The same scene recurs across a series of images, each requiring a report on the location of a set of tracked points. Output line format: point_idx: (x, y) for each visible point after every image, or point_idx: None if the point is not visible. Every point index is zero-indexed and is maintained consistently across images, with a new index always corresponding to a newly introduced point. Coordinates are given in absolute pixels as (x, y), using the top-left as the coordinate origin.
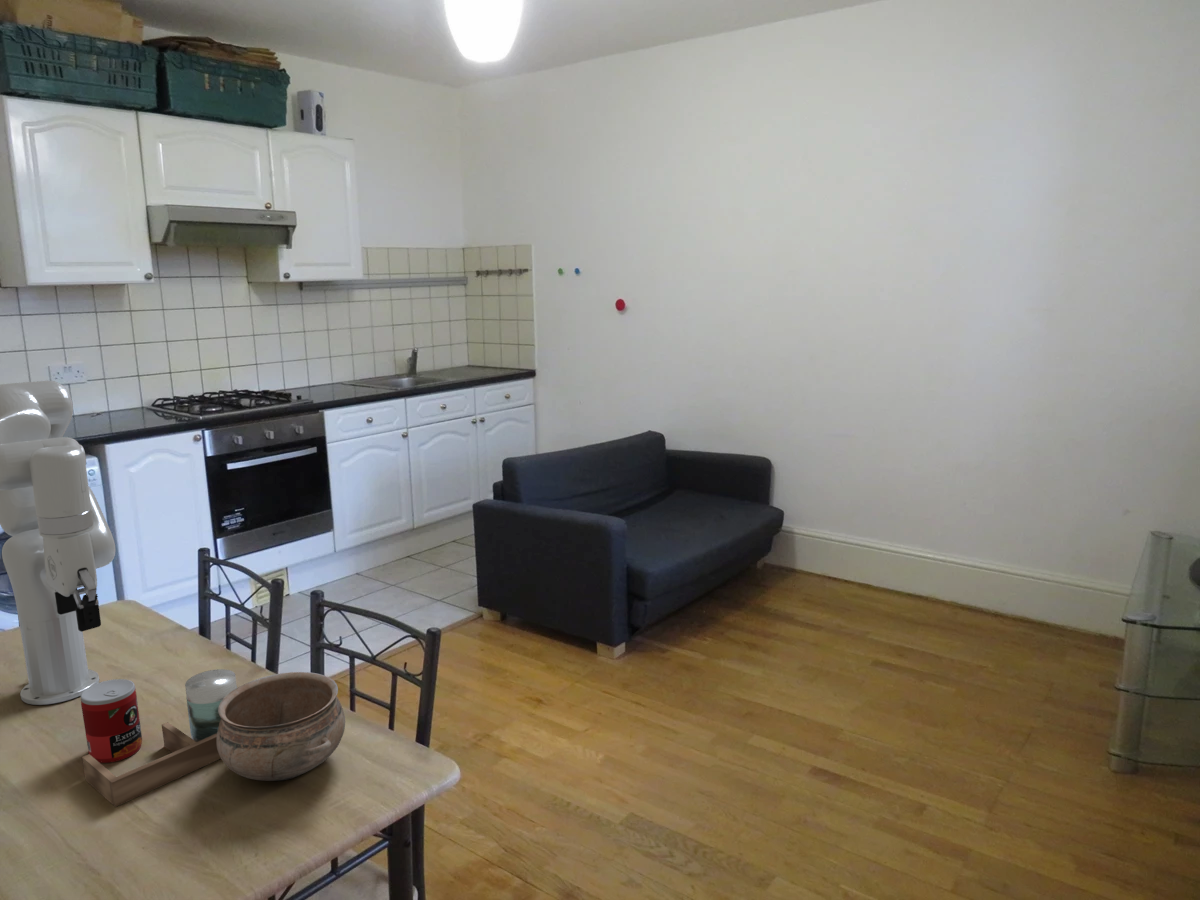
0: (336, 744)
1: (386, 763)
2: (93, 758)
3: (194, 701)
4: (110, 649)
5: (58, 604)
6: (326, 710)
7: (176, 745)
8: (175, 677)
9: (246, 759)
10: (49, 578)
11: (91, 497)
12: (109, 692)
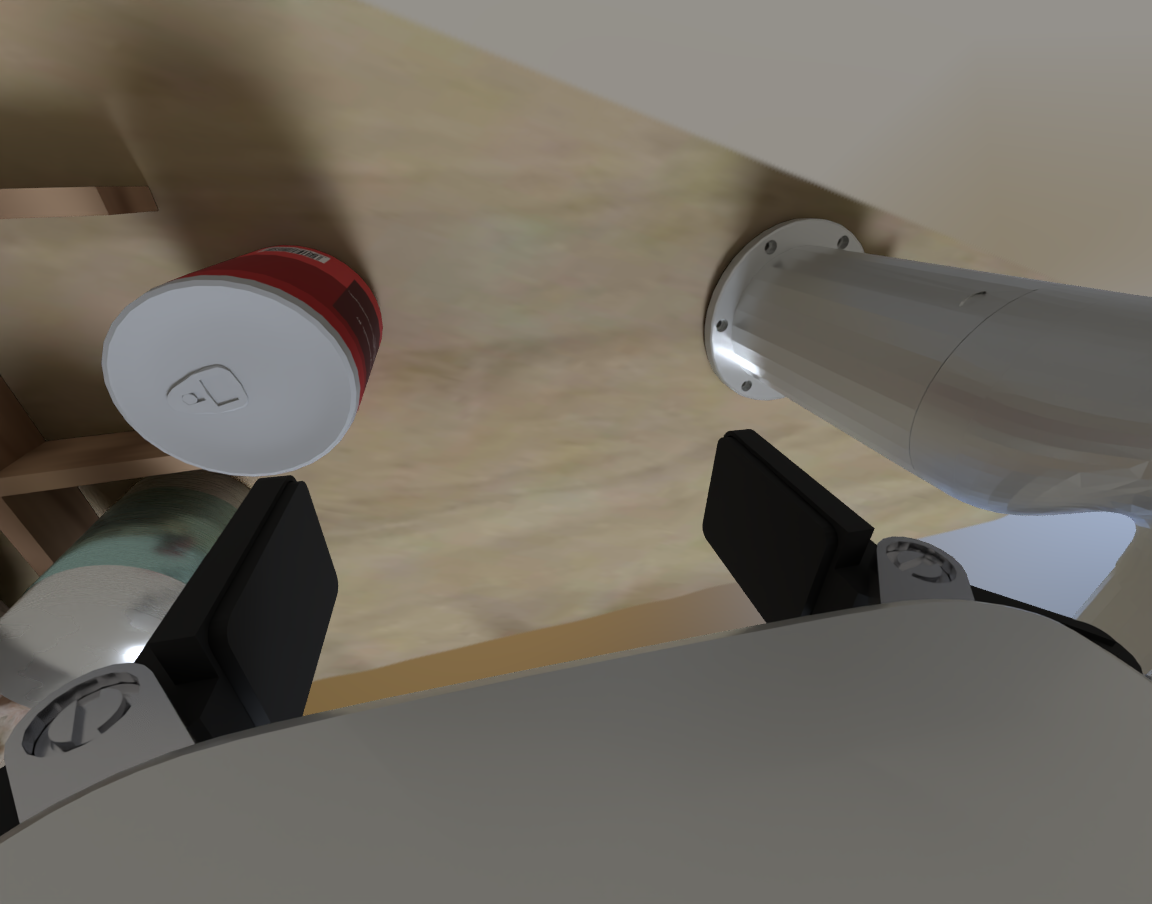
0: None
1: None
2: (51, 214)
3: (42, 582)
4: (861, 448)
5: (765, 474)
6: None
7: (135, 444)
8: (616, 515)
9: None
10: (979, 760)
11: None
12: (228, 387)
